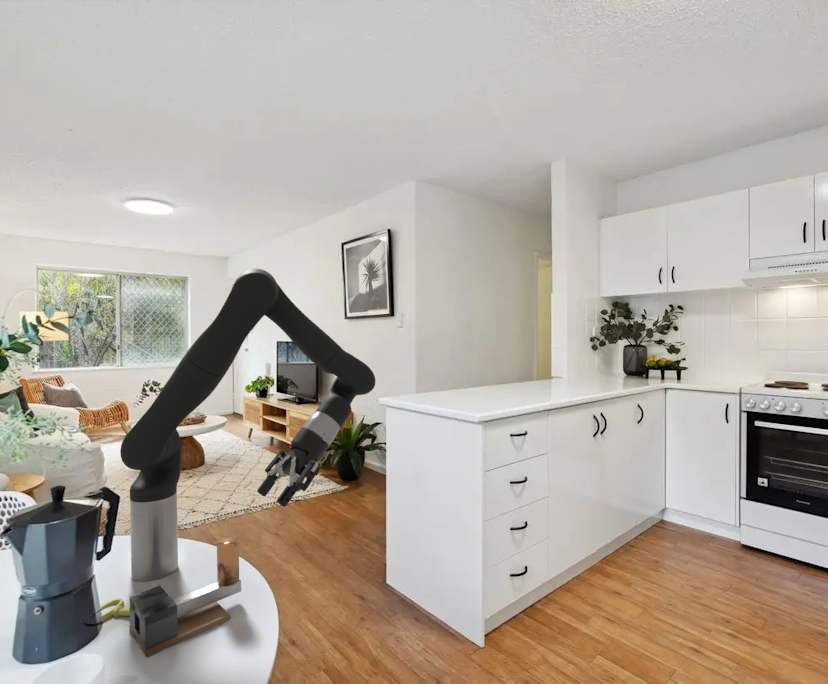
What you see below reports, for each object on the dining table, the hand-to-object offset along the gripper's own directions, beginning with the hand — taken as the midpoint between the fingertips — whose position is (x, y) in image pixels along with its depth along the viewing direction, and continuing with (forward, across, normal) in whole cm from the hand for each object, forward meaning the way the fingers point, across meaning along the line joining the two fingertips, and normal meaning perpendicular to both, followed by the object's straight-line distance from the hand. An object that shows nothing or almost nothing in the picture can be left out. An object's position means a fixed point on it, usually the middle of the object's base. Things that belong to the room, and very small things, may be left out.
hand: (270, 499), depth 97 cm
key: (+31, -12, -4) cm, 34 cm away
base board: (+26, 0, 0) cm, 26 cm away
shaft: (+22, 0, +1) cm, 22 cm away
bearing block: (+29, 0, -3) cm, 29 cm away
